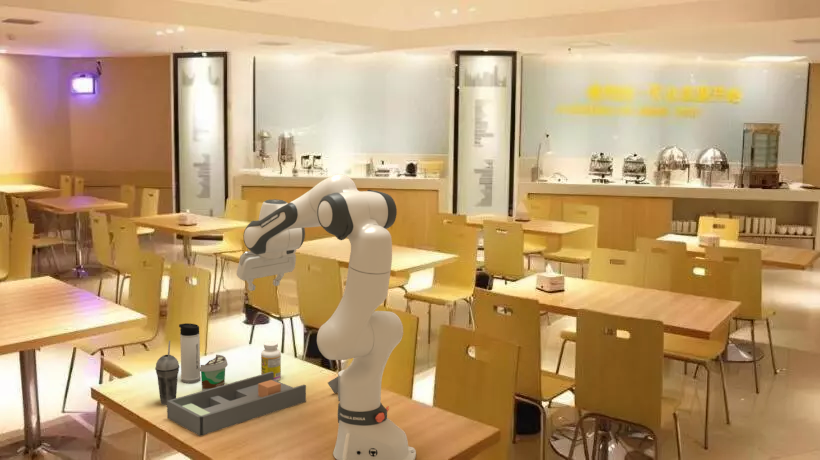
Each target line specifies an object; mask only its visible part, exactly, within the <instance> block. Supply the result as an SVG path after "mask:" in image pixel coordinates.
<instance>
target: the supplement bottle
mask: <svg viewBox="0 0 820 460" xmlns="http://www.w3.org/2000/svg"><path fill="white" fill-rule="evenodd" d="M263 347H264V349H263V350H262V351H261V354H260V355H261V357H260V359H261V362H260V365H261V366H260V371H261V372H260V373H261V374H260V375H262V374H265V373H269V372H274V380H276V381H278V382H279V380H280V379H281V378H282V377H281V375H282V373H281V371H282V370H281V369H282V368H281V366H282V365H281V363H282V361H281V357H282V356H281V355H282V354H281V351H280V350H279V349H278V347H279V346H278V342H276V341H266V342H264V344H263Z"/></svg>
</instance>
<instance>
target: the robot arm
mask: <svg viewBox="0 0 820 460" xmlns="http://www.w3.org/2000/svg"><path fill="white" fill-rule="evenodd" d="M397 210H398V209H397V205H396V203H395V200H394V198H393V197H392V196H391V195H390V194H388V193H386V192H383V191H378V190H372V189H367V190H366V191H363V190H362V191H360V190H358V188H357V185H356V183H355V181H353V179H352V178H351V177H349V176H347V175H345V174H339V173H337V174H334V175H330V176H329V177H327V178H325V179H323V180H321V181H320V182H318V183H317V184H316V185H314V186H313V187H312V188H311V189H310V190H308V191H307V192H305V193H303V194H302V195H300V196H299V197H297V198H295V199H294V200H292V201H290V202H287V201H286V200H283V199H275V198H274V199H266V200H265V201H263V202H262V204H261V208H260V210H259V215H258V216H259V217H258V220H252V221H250V222H249V223H248V224H247V225H246V227H245V229H244V232H243V242H244V246H245V247H246V248H247V250H246V251H244V252H243V253H242V254H241V255H240V257H239V262H238V265H237V267H236V268H237V269H236V276H237V278H239V279H240V280H242V281H243V282H244V281H246V283H247V284H248V286H247V289H248V291H249V292H252V291H255V290H256V285H255V284H254V283H253V282H254V280H255V279H260V278H265V277H270V276H276V277H275V278H274V279H273V280H272V285H273V286H274V287H277V286H280V283H281V280H283V277H285V274H287V273H288V274H289V273H292V272H293V271H294V270H295V268H296V261H297V255H296V253H297V250H298V249H300V248H301V247H302V246H303V244H304V241H305V238H306V229H305V228H317V227H321V228H323V230H325V231H326V232H327V233H328V234H330V235H332V236H335V238H337V240H339V241H344V240H345V239H348V241H349V243H350V255H349V261H348V267H347V276H346V281H345V288H344V292H343V294H342V297H341V298H340V299H341V300H340V301H339V303H338V305H337V307H336V309H335V310H334V312H333V314H332V315H331V316H330V317H329V318H328V320H326V322H324V323H323V324H322V325H321V326H320V327H319V329H318V331H317V335H316V344H317V348H318V350H319V352H320V353H321V355H322V356H323V357H324V358H325V359H327V360H329V361H345V360H350V359H352V361H351V362H350V364H349V365H348V366H347V367H346V368H345V369H343V370H344V372H343V373H342V375H341V378H340V401H339V403H338V405H337V424H338V429H337V437H336V441H335V445H334V446H335V447H334V450H333V452H332V455H333V457H334V458H335V460H416V458H417V450H416V449H415V447H413V446H410V445H409V444H408V443H409V442H408V437H407V434H406V432H405V430H404V429H402V428H400V426H398V425H397V424H396V423H394V421H393V420H391V419H389V418H388V412H389V409H390V406H389V405H387V406H386V407H385V406H384V405H383V403H382V402H381V400H382V379H383V374H384V371H385V369H386V364H387V363H388V360H389V358H390V357H391V356H390V355H391V354H392V353H393V350H394V349H395V348H396V347H397V346H398V345H399V344H400V342H401V341H402V338H403V336H404V325H403V322H402V320H401V318H400V317H399V316H398V315H397V314H396V313H395V312H393V311H387V310H377V309H378V308H379V307H380V306H381V305H382V304H383V303H384V302H385V301H386V299H387V297H388V293H389V288H390V287H389V286H390V278H391V271H392V262H393V240H392V235H391V233H390V231H389V230H388V229H389V228H390V227H392V226H393V225H394V224H395V221H396V219H397V215H398V211H397Z"/></svg>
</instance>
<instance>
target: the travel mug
mask: <svg viewBox="0 0 820 460" xmlns="http://www.w3.org/2000/svg"><path fill="white" fill-rule="evenodd" d="M178 327H179V328H180V332H179V333H180V334H179V335H180V336H179V337H180V375H181V376H180V377H181V378H180V379H181V382H182V383H183V384H195V383H198V382H200V381H201V371H200V367H201V352H200V351H201V350H200V347H201V346H200V344H201V343H200V342H201V341H200V337H201V336H200V326H199V325H198V324H195V323H188V322H187V323H180V324H178Z"/></svg>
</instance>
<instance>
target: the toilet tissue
mask: <svg viewBox="0 0 820 460" xmlns="http://www.w3.org/2000/svg"><path fill="white" fill-rule="evenodd" d="M344 370H345V369H342V370H340V371H338V373H337V374H338V376H336V377H334V378H332V379H331V380H330V381H328V382H327V384H328V386H329V387H330V389H331V390H332V392H333V394H337V399H338V402H340V378H341V375H342V373H343V372H344Z"/></svg>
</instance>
